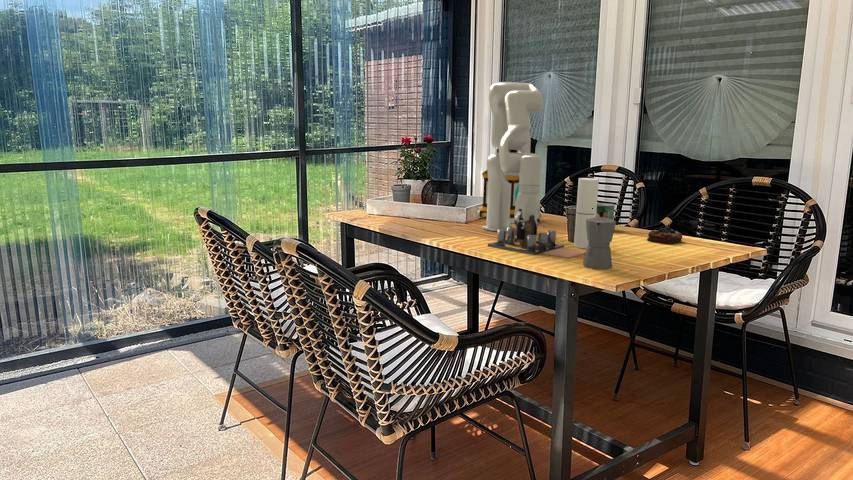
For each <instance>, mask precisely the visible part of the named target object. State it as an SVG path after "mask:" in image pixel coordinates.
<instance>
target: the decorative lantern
mask: <svg viewBox="0 0 853 480" xmlns="http://www.w3.org/2000/svg"><path fill="white" fill-rule="evenodd" d="M481 176H482V178H483V194H482V195H483V197H482V206H481V208H480V209H479V215H478V216H479V218H480V219H483V218H484V213H485V214H487V199H488V171H487V169H486V170H485V171H483V172H482V173H481ZM505 178H506V180H507V181H508V182H509V184H510V186H511V200H510V219H511V218H514V216H515V206H516V199H517V195H518V193H519V176H507V177H505Z"/></svg>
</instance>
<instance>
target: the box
mask: <svg viewBox="0 0 853 480" xmlns="http://www.w3.org/2000/svg"><path fill="white" fill-rule="evenodd" d="M534 219H535V216H534V215H531V216H530V218H529V221H527V222H526V224H525V227H524V229H525V240H520V242H519V246H520V247H521V248H522V249H527V240H528V235H529V234H533V235H534ZM521 220H523V219H521ZM522 223H523V222H521V224H522Z"/></svg>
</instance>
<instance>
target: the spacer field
mask: <svg viewBox="0 0 853 480" xmlns="http://www.w3.org/2000/svg"><path fill="white" fill-rule="evenodd" d="M515 236H516V227H513V226H512V227H507V231H506V230H504V229H498V231H497V238H496V239H497V240H496V241H495V242H490V243H487V247H491V248H496V249H501V250H506V251H511V252H516V253H517V252H518V253H522V254H528V255H532V256H535V255H540V254H543V252H547V251H551V250H555V249H559V248H565V245H564V244H561V243H556V240H557V230H554V229H549V230H547V232H538V240H537V237H536V235H533V234H529V235H528V240H527V248H526V249H524V248H522V249H521V248H518V247H511V245H515V242H517V243H520V240H519V239H517V237H515ZM506 245H510V246H506ZM537 245H538V248H537ZM536 249H537V250H536Z"/></svg>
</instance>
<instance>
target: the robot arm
mask: <svg viewBox="0 0 853 480" xmlns="http://www.w3.org/2000/svg"><path fill="white" fill-rule="evenodd" d="M488 102H489V106H490V111H491V116H492V117H491V145H492V148H494V149H496V150H498V152H494V153H491V154H490V155H488V157H487V160H486V170H487V171H488V199H487V213H486V224H483V225H482V229H483V230H486V231H490V232H498V229H504V230H506V232H507V227H513V225H511V224H512V223H513V224H515V229H516V238H517V239H519V240H525V229H524V227H525V224H526V222H527V221H529V218H530V216H531V215H534V216H535V219H534V235H536V238H537V237H538V234H537V233H538V227H539V222H540V219H541V218H542V214H541V196H540V194H541V180H542V179H541V178H542V177H541V176H542V174H541V173H542V161H543V160H542V157H541V155H537V154H536V153H533V152H531V143H532V142H531V133H530V130H531V129H532V127H531V119H530V114H539V113H540V112H541V111H542V109H543V107H544V106H543V105H544V98H543V95H542V93H541V91H540V90H539V89H538V88H537V87H536V86H535V85H534V84H533V83H529V82H515V81H499V82H495V83H492V84H491V85H490V87H489V90H488ZM510 150H514V151H517V152H510ZM507 176H519V193H518V195H517V199H516V206H515V216H514V218H510V200H511V186H510V184H509V182H508V181H507V180H506V178H505V177H507ZM521 219H523V220H521ZM521 222H523V223H522V224H521Z"/></svg>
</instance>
